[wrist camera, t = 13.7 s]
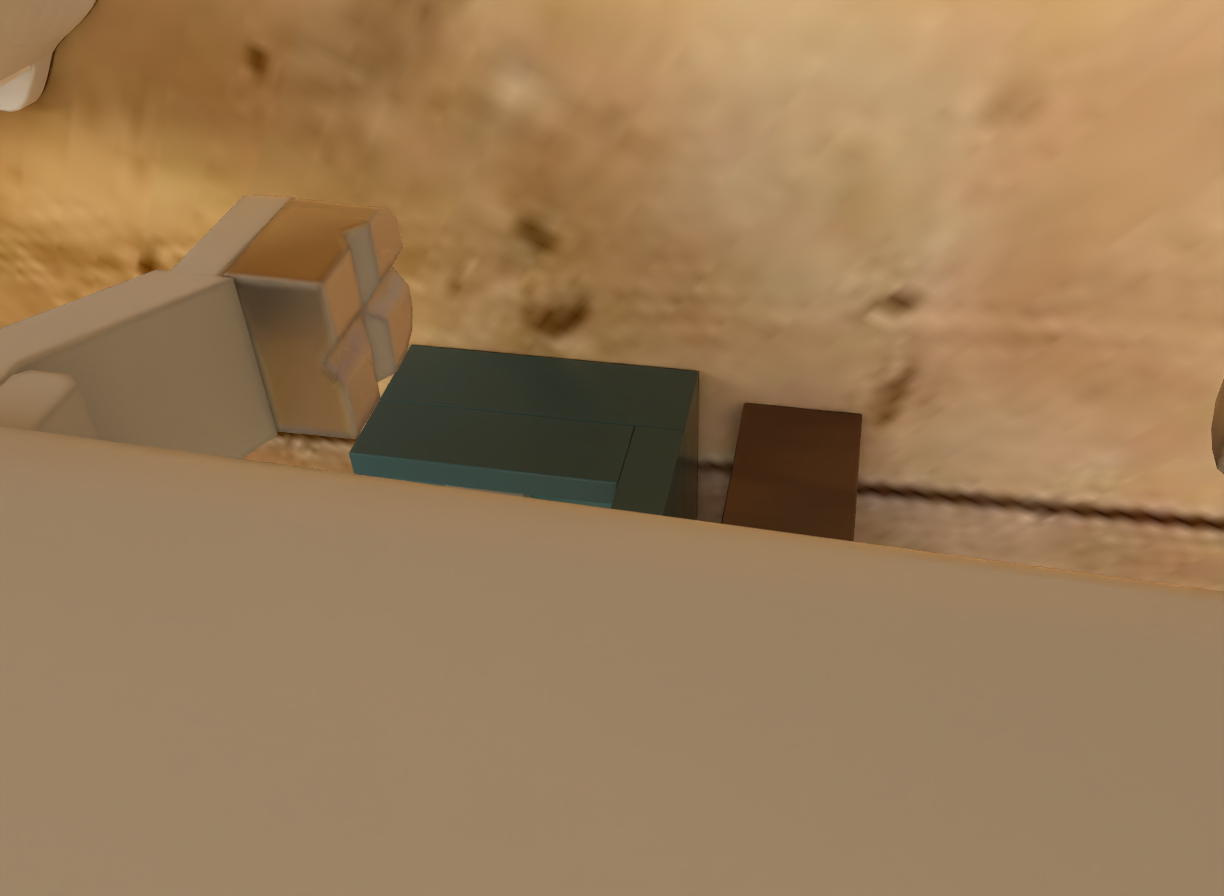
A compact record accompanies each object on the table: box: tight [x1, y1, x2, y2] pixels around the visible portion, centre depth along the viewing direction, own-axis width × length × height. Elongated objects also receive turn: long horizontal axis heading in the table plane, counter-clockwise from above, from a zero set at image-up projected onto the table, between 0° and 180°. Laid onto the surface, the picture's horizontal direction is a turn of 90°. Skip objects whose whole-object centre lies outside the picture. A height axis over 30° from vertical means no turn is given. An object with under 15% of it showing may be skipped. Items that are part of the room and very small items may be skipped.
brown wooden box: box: [721, 404, 862, 542], centre depth 49 cm, size 5×14×11 cm, turn 2°
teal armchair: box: [349, 345, 699, 520], centre depth 51 cm, size 13×17×10 cm
